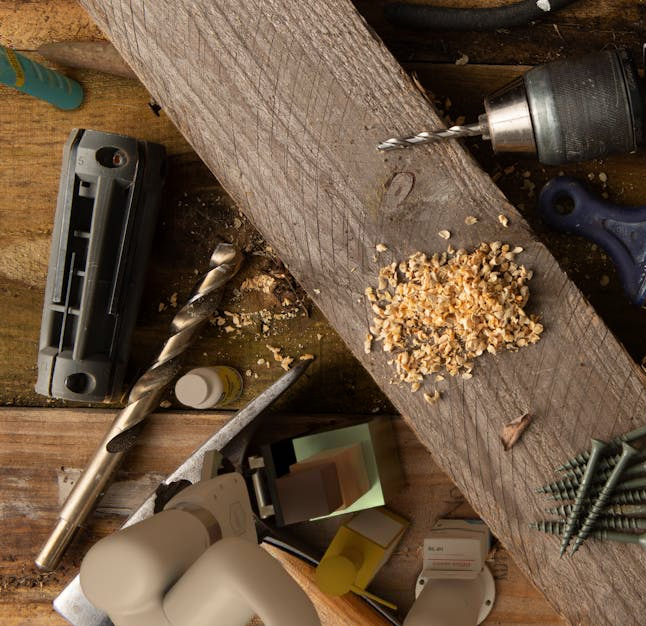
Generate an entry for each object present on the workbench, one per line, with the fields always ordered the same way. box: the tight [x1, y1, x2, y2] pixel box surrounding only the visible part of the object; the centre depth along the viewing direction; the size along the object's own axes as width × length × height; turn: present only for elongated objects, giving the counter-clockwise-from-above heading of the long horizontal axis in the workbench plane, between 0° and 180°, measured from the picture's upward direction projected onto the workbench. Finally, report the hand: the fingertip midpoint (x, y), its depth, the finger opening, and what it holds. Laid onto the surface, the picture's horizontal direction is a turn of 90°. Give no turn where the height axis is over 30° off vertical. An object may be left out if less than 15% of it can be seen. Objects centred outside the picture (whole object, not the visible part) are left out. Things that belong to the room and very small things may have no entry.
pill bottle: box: [174, 365, 244, 410], centre depth 121 cm, size 6×6×11 cm
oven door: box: [247, 427, 320, 528], centre depth 121 cm, size 5×12×13 cm, turn 12°
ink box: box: [420, 518, 491, 579], centre depth 120 cm, size 9×5×15 cm, turn 89°
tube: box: [0, 43, 84, 111], centre depth 117 cm, size 7×5×19 cm, turn 32°
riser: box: [290, 443, 371, 512], centre depth 108 cm, size 7×6×12 cm
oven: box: [292, 412, 406, 522], centre depth 120 cm, size 11×12×13 cm
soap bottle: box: [315, 505, 411, 611], centre depth 115 cm, size 7×13×24 cm, turn 60°
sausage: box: [37, 40, 140, 81], centre depth 124 cm, size 6×18×6 cm
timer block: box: [275, 462, 343, 525], centre depth 99 cm, size 6×6×6 cm
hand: (251, 503), depth 101 cm, fingers open, 7 cm apart
